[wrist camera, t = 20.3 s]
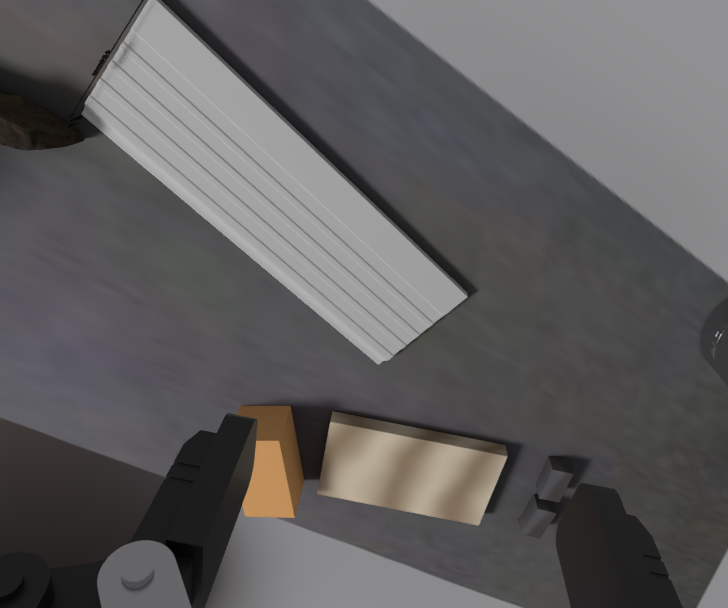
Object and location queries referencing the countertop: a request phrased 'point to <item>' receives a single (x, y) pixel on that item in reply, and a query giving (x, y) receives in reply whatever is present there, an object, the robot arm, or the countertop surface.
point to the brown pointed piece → (32, 126)
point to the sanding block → (274, 464)
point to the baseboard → (265, 185)
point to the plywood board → (409, 468)
